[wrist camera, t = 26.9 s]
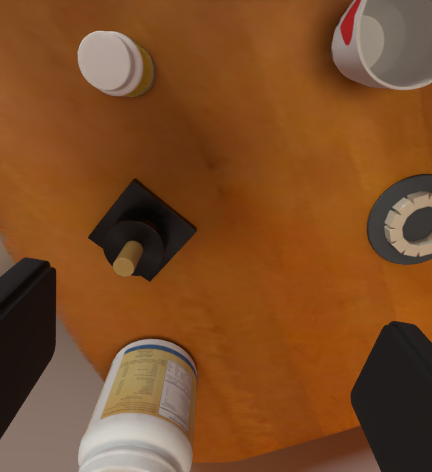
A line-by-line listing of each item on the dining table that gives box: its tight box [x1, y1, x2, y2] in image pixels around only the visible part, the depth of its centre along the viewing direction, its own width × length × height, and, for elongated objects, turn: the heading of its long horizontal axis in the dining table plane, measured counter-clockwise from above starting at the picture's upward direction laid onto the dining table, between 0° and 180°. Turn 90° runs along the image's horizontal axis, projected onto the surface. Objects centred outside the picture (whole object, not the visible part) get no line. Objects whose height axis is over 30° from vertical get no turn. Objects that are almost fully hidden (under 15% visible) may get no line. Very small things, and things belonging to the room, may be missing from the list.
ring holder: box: [88, 179, 197, 282], centre depth 34 cm, size 9×9×9 cm
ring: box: [384, 191, 432, 257], centre depth 37 cm, size 7×7×1 cm
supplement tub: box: [78, 339, 198, 472], centre depth 39 cm, size 12×12×17 cm
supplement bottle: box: [78, 31, 155, 97], centre depth 28 cm, size 5×5×8 cm
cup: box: [331, 0, 432, 90], centre depth 26 cm, size 8×8×10 cm
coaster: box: [367, 174, 432, 265], centre depth 38 cm, size 11×11×1 cm
